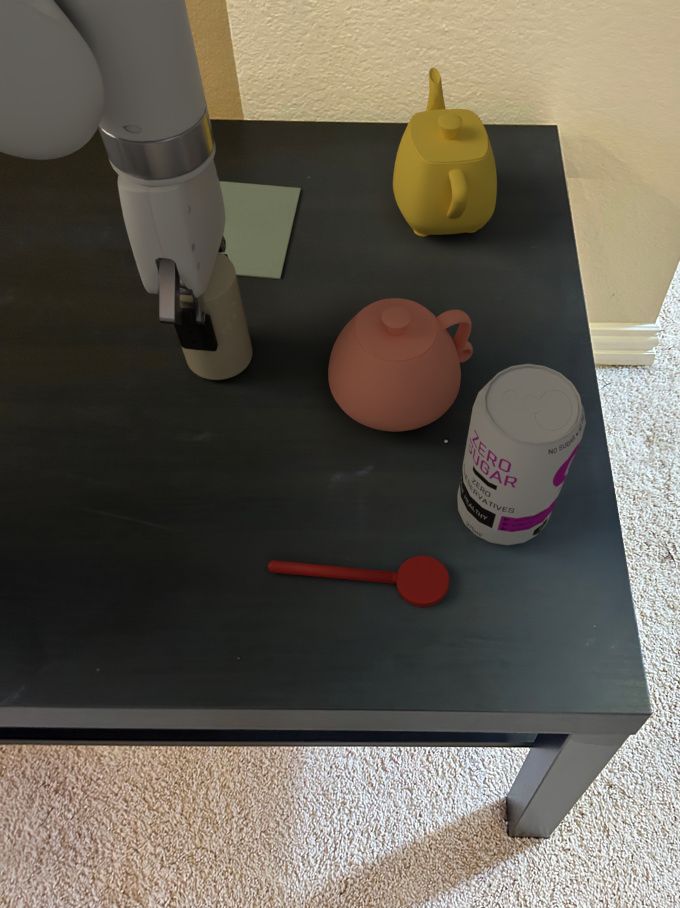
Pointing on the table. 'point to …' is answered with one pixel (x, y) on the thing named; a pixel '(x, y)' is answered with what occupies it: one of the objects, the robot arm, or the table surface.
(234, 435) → the table surface
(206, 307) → the beige cylinder
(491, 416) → the supplement can
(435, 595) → the spoon
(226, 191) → the mat
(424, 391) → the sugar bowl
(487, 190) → the teapot
